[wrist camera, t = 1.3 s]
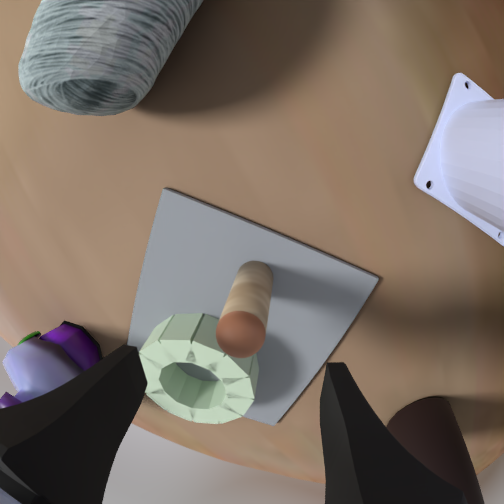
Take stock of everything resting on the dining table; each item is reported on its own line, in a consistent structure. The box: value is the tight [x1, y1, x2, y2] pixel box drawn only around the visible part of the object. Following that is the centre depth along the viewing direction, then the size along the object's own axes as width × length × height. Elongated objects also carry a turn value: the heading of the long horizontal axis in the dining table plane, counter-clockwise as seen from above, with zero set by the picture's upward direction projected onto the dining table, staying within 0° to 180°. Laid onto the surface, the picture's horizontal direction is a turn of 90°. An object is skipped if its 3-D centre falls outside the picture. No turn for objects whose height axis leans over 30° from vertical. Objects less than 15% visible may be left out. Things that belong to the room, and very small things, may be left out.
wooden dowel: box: [216, 261, 273, 358], centre depth 15 cm, size 2×2×7 cm
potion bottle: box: [0, 321, 103, 408], centre depth 18 cm, size 9×9×12 cm
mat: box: [127, 188, 379, 426], centre depth 21 cm, size 14×16×1 cm
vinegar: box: [386, 397, 484, 504], centre depth 13 cm, size 7×7×20 cm
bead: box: [139, 313, 259, 424], centre depth 20 cm, size 8×8×3 cm
